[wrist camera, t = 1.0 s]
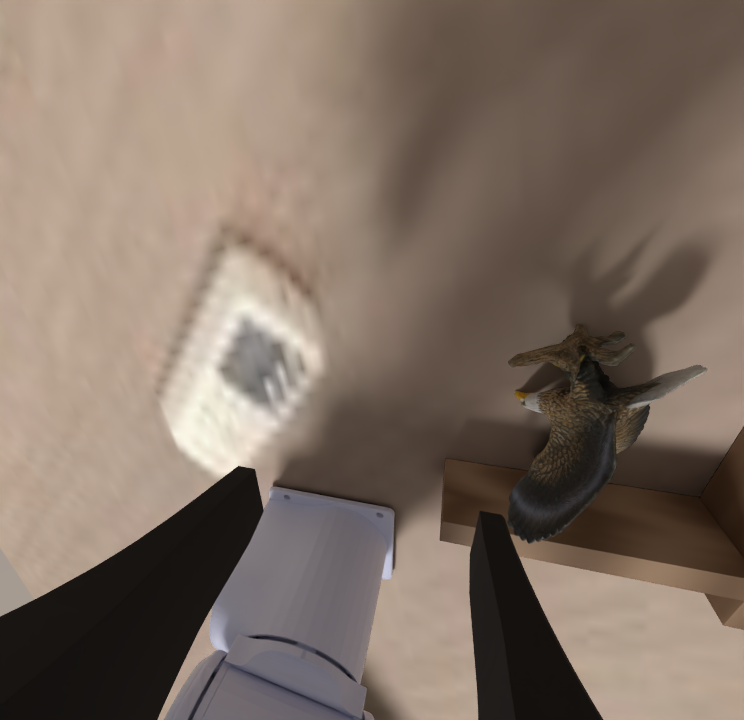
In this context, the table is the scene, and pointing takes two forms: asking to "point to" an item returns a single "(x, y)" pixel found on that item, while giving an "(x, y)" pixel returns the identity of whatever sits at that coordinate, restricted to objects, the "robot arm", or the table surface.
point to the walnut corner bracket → (626, 530)
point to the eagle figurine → (580, 431)
